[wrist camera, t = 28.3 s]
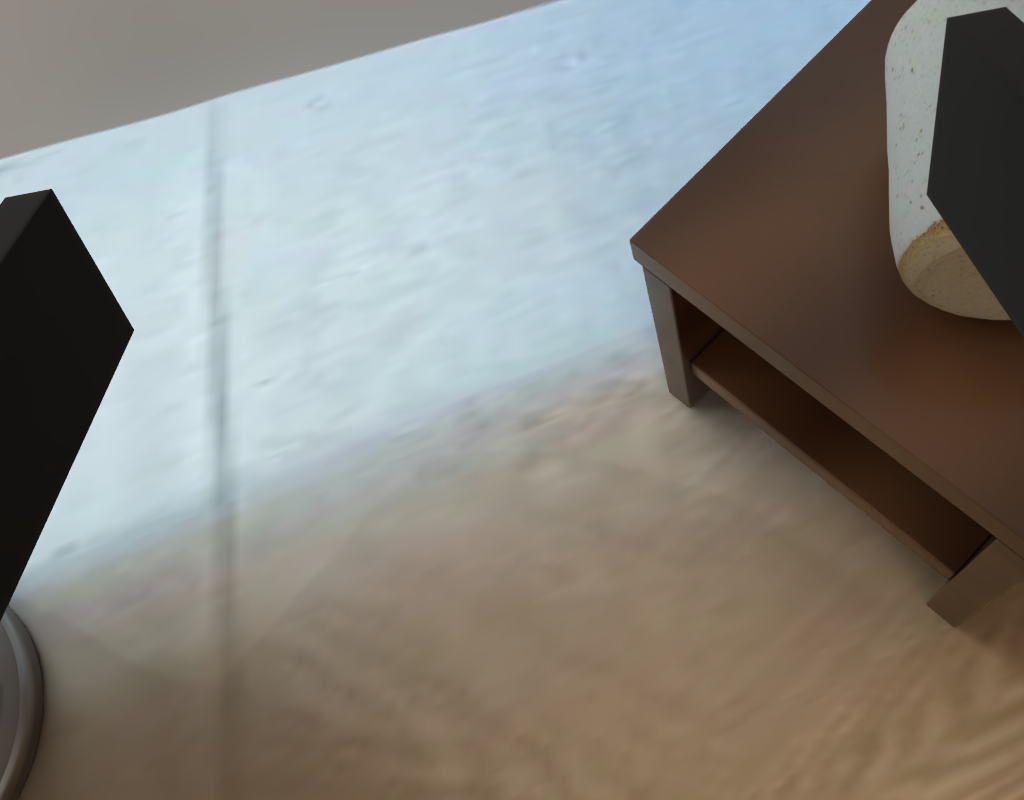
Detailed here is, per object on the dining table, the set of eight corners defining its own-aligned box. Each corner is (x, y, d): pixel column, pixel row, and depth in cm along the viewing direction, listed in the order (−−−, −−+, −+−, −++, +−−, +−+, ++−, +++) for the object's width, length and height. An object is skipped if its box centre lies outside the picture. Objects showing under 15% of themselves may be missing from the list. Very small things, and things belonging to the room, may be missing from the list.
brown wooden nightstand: (662, 386, 46) (628, 239, 33) (882, 162, 47) (930, -60, 35) (962, 635, 39) (1065, 571, 26) (1208, 364, 40) (1418, 179, 28)
